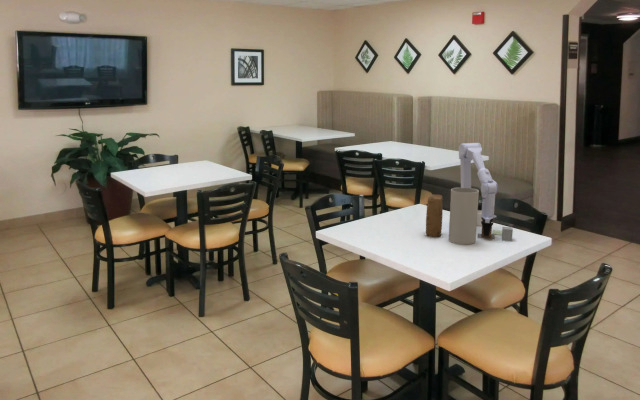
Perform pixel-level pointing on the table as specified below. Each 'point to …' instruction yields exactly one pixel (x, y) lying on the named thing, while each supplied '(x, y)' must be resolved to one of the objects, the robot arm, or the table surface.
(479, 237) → the tile
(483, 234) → the walnut block
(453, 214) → the cylinder vase
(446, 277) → the table surface
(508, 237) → the slate block
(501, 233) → the sage mat
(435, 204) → the block
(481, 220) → the medicine bottle
